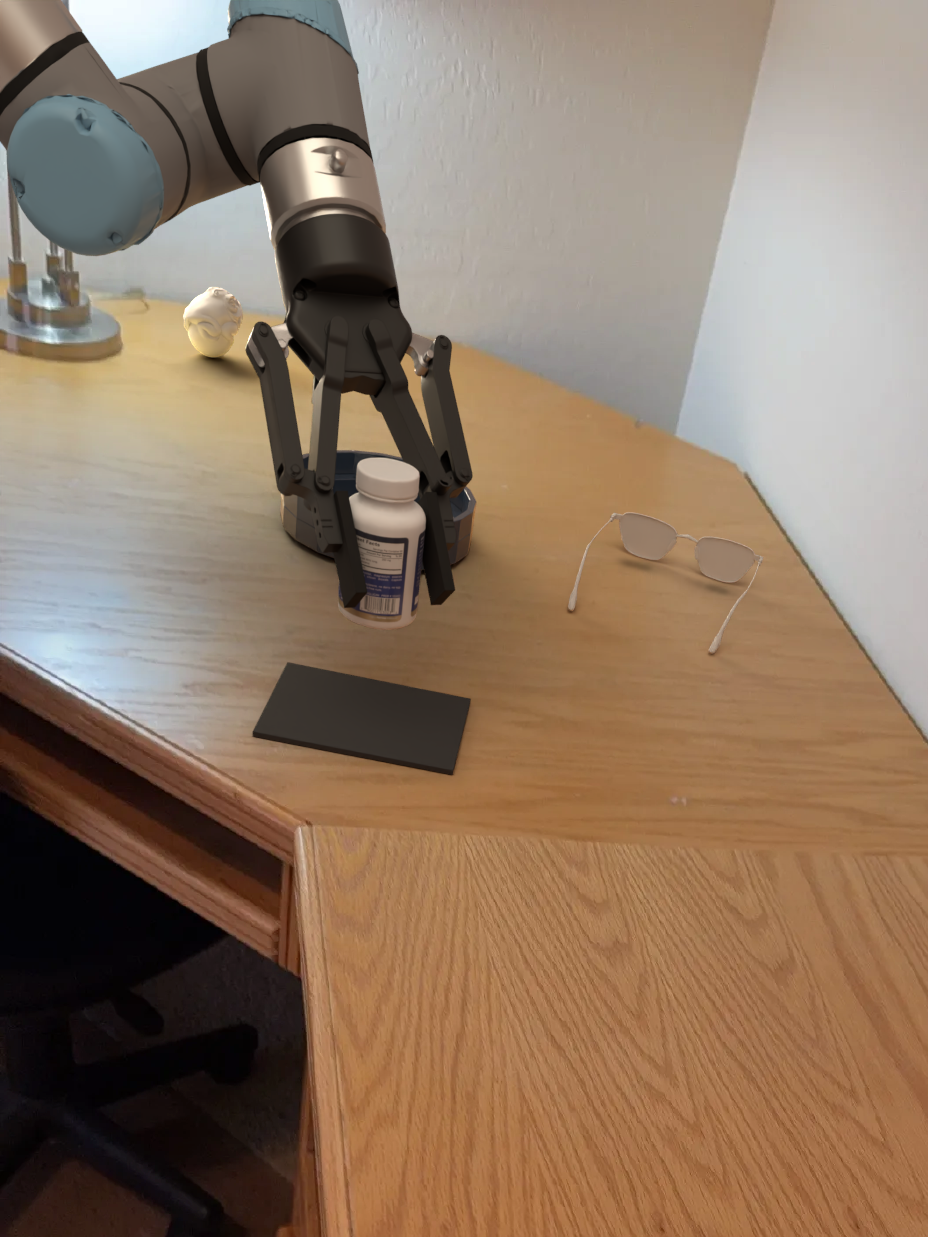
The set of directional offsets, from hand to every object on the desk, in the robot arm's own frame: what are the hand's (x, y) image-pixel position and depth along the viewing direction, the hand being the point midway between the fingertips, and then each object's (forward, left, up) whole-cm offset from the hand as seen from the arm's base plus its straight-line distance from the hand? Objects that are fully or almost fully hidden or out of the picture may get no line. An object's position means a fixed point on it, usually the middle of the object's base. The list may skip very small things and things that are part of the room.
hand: (399, 598), depth 84 cm
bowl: (-7, +37, -11) cm, 39 cm away
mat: (-2, +3, -11) cm, 11 cm away
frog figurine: (-33, +79, -11) cm, 86 cm away
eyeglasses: (+20, +36, -11) cm, 43 cm away
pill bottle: (-2, +3, -3) cm, 5 cm away
